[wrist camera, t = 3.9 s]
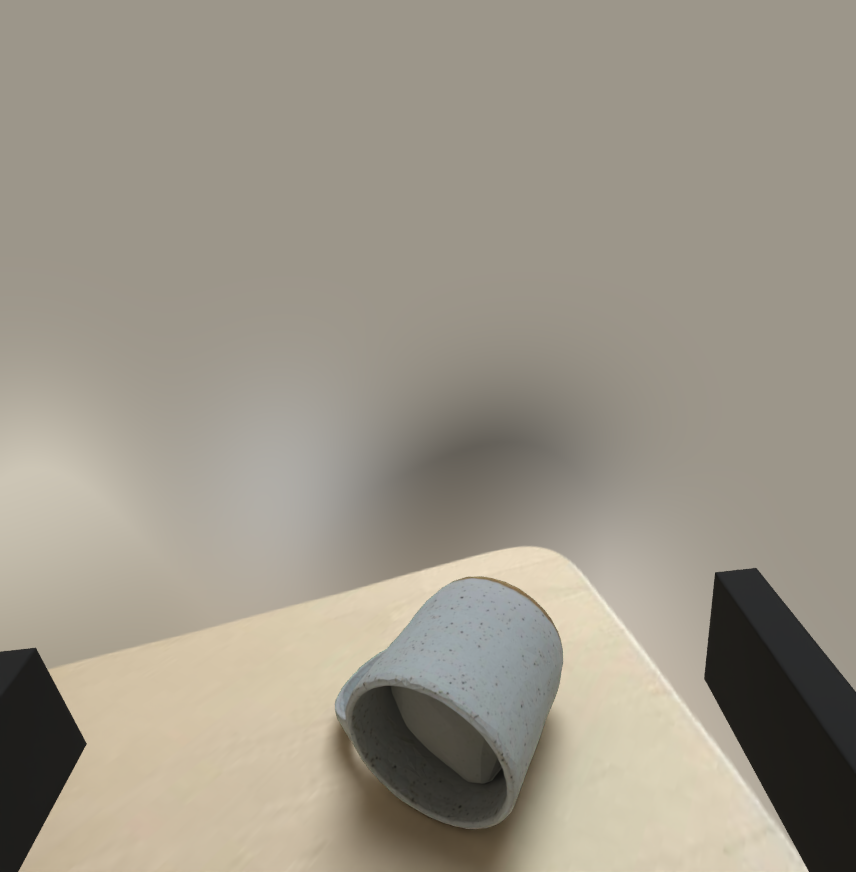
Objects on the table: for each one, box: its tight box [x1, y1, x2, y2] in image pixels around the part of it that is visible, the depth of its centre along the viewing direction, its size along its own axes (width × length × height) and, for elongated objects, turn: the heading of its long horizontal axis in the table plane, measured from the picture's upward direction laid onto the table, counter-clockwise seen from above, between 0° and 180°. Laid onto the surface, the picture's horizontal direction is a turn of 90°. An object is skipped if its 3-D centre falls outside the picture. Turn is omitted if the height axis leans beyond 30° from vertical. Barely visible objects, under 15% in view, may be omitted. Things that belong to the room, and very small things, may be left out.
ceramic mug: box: [335, 577, 563, 829], centre depth 28 cm, size 11×8×8 cm
